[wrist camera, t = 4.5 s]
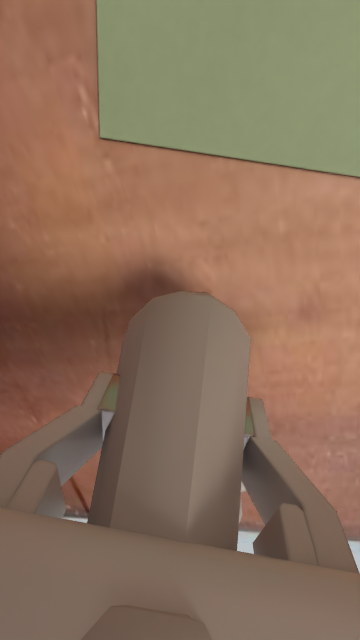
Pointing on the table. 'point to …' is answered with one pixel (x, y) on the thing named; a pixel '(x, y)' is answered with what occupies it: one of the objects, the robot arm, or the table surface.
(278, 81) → the desk mat
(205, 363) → the salt shaker
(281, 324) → the table surface
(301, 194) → the table surface
